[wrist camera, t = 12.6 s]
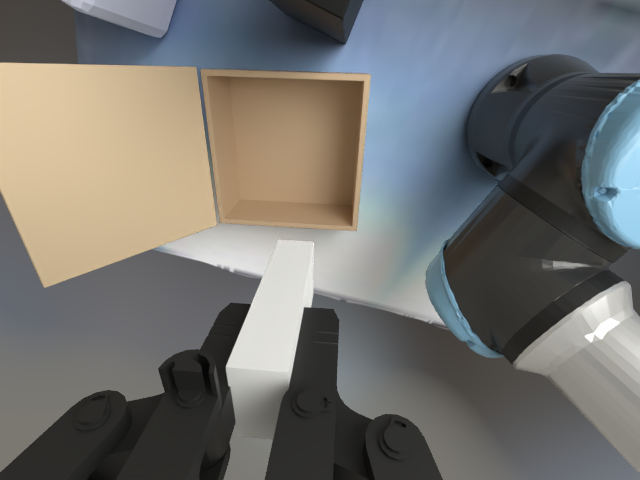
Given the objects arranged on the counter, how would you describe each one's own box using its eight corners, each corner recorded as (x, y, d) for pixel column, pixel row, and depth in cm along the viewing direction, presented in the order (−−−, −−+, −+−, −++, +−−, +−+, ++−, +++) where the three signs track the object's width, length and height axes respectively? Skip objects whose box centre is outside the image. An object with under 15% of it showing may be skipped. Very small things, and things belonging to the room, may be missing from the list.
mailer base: (367, 73, 41) (370, 74, 34) (355, 207, 49) (356, 231, 42) (225, 68, 42) (200, 69, 35) (238, 201, 50) (219, 222, 43)
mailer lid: (-58, 61, 22) (-59, 61, 22) (44, 287, 30) (41, 284, 31) (196, 66, 34) (191, 66, 35) (217, 225, 43) (213, 223, 44)
